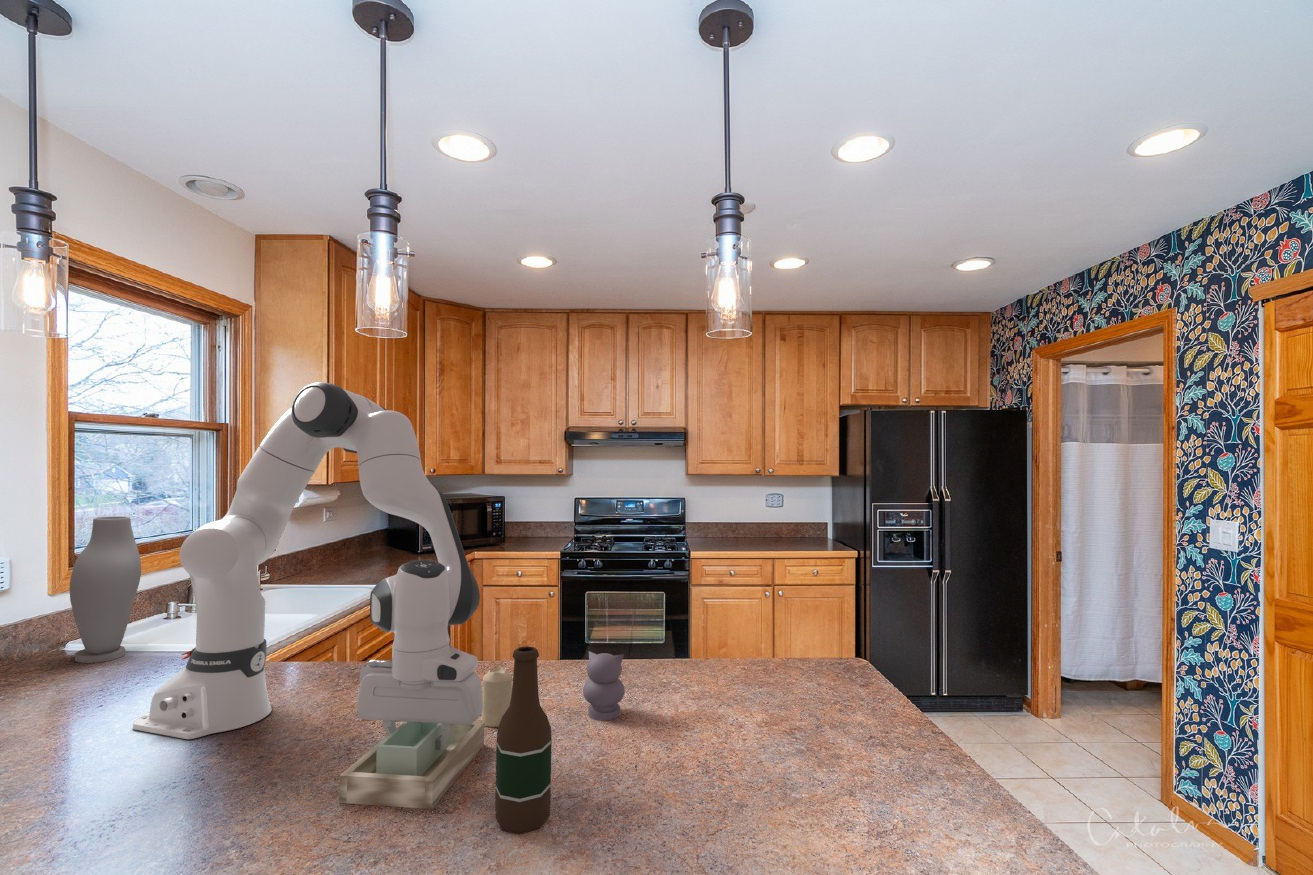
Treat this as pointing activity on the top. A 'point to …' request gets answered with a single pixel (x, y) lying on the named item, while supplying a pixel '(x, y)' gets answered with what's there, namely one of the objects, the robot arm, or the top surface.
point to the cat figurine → (604, 686)
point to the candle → (496, 695)
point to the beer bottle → (523, 752)
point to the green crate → (410, 749)
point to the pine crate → (411, 790)
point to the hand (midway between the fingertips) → (418, 747)
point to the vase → (105, 588)
